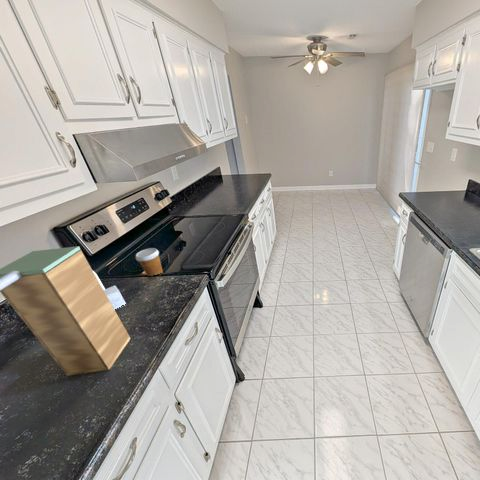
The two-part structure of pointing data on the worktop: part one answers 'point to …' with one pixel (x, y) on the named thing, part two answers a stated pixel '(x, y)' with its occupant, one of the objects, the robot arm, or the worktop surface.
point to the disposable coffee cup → (150, 261)
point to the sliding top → (34, 264)
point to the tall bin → (70, 315)
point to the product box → (114, 297)
